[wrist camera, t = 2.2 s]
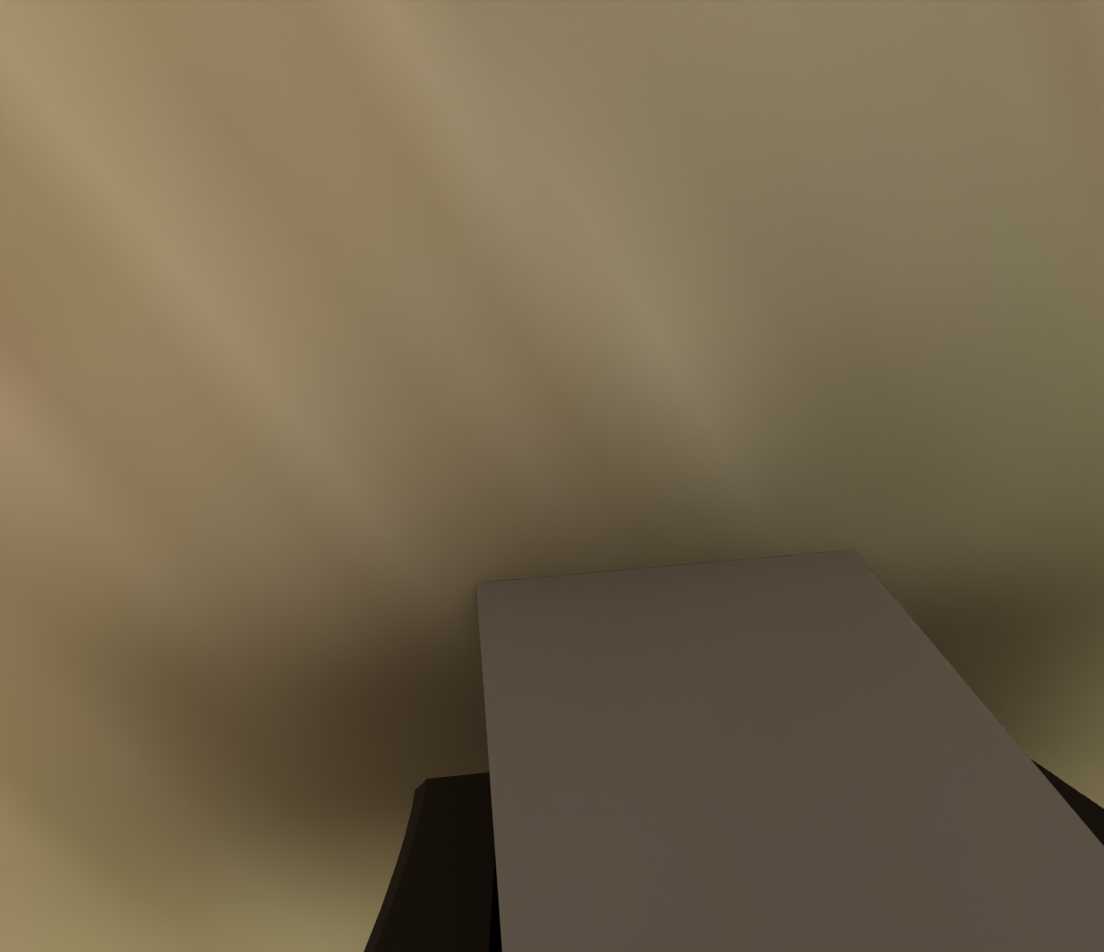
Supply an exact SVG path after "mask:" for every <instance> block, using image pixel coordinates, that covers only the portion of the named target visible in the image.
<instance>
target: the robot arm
mask: <svg viewBox="0 0 1104 952" xmlns="http://www.w3.org/2000/svg"><path fill="white" fill-rule="evenodd" d="M1031 760H1032V759H1031ZM1032 762H1033V763H1034V764H1035V765H1036V766H1037V767H1038V769H1039V770H1040V771H1041V772H1042V773H1043V775H1044V776H1045V777H1046V778H1047V779H1048V781H1049V782H1050V783H1051V784H1052V785H1053V786H1054V788H1055V789H1056V790H1057V791H1058V792H1059V794H1060V795H1061V796H1062V797H1063V798H1064V800H1065V801H1066V802H1067V803H1068V804H1069V805H1070V807H1071V808H1072V809H1073V810H1074V811H1075V813H1076V814H1077V815H1078V816H1079V817H1080V819H1081V820H1082V821H1083V822H1084V823H1085V824H1086V826H1087V827H1088V828H1089V829H1090V830H1091V832H1092V833H1093V834H1094V835H1095V836H1096V838H1097V839H1098V840H1099V841H1100V842H1101V843H1102V845H1103V846H1104V809H1103V808H1102V807H1100V806H1099V805H1097V804H1096V803H1094V802H1093V801H1091V800H1090V799H1088V798H1087V797H1086V796H1084V795H1083V794H1081V793H1080V792H1078V791H1077V790H1075V789H1074V788H1072V787H1071V786H1069V785H1068V784H1067V783H1065V782H1064V781H1062V780H1061V779H1059V778H1058V777H1056V776H1055V775H1054V774H1052V773H1051V772H1049V771H1048V770H1046V769H1045V768H1043V767H1042V766H1040V765H1039V764H1037V763H1036V762H1035V761H1033V760H1032ZM364 952H502V940H501V926H500V912H499V898H498V884H497V870H496V856H495V842H494V828H493V814H492V800H491V786H490V772H488V773H478V774H469V775H459V776H450V777H440V778H431V779H426V780H425V781H424V782H423V783H422V784H421V785H420V786H419V787H418V788H417V789H416V790H415V795H414V800H413V806H412V810H411V815H410V819H409V822H408V826H407V830H406V834H405V837H404V841H403V844H402V848H401V851H400V854H399V857H398V860H397V864H396V867H395V870H394V873H393V875H392V878H391V881H390V884H389V887H388V890H387V893H386V896H385V899H384V901H383V904H382V907H381V910H380V912H379V915H378V917H377V920H376V922H375V925H374V928H373V930H372V933H371V935H370V938H369V940H368V943H367V945H366V948H365V950H364Z"/></svg>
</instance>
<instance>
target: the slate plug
mask: <svg viewBox="0 0 1104 952" xmlns="http://www.w3.org/2000/svg"><path fill="white" fill-rule="evenodd" d="M476 589H477V603H478V617H479V631H480V645H481V659H482V673H483V687H484V701H485V715H486V729H487V744H488V758H489V772H490V786H491V800H492V814H493V828H494V842H495V856H496V870H497V884H498V898H499V912H500V926H501V940H502V952H1104V846H1103V845H1102V843H1101V842H1100V841H1099V840H1098V839H1097V838H1096V836H1095V835H1094V834H1093V833H1092V832H1091V830H1090V829H1089V828H1088V827H1087V826H1086V824H1085V823H1084V822H1083V821H1082V820H1081V819H1080V817H1079V816H1078V815H1077V814H1076V813H1075V811H1074V810H1073V809H1072V808H1071V807H1070V805H1069V804H1068V803H1067V802H1066V801H1065V800H1064V798H1063V797H1062V796H1061V795H1060V794H1059V792H1058V791H1057V790H1056V789H1055V788H1054V786H1053V785H1052V784H1051V783H1050V782H1049V781H1048V779H1047V778H1046V777H1045V776H1044V775H1043V773H1042V772H1041V771H1040V770H1039V769H1038V767H1037V766H1036V765H1035V764H1034V763H1033V762H1032V760H1031V759H1030V758H1029V757H1028V756H1027V754H1026V753H1025V752H1024V751H1023V750H1022V748H1021V747H1020V746H1019V745H1018V744H1017V743H1016V741H1015V740H1014V739H1013V738H1012V737H1011V735H1010V734H1009V733H1008V732H1007V731H1006V729H1005V728H1004V727H1003V726H1002V725H1001V724H1000V722H999V721H998V720H997V719H996V718H995V716H994V715H993V714H992V713H991V712H990V710H989V709H988V708H987V707H986V706H985V704H984V703H983V702H982V701H981V700H980V699H979V697H978V696H977V695H976V694H975V693H974V691H973V690H972V689H971V688H970V687H969V685H968V684H967V683H966V682H965V681H964V680H963V678H962V677H961V676H960V675H959V674H958V672H957V671H956V670H955V669H954V668H953V666H952V665H951V664H950V663H949V662H948V661H947V659H946V658H945V657H944V656H943V655H942V653H941V652H940V651H939V650H938V649H937V647H936V646H935V645H934V644H933V643H932V642H931V640H930V639H929V638H928V637H927V636H926V634H925V633H924V632H923V631H922V630H921V628H920V627H919V626H918V625H917V624H916V623H915V621H914V620H913V619H912V618H911V617H910V615H909V614H908V613H907V612H906V611H905V609H904V608H903V607H902V606H901V605H900V604H899V602H898V601H897V600H896V599H895V598H894V596H893V595H892V594H891V593H890V592H889V590H888V589H887V588H886V587H885V586H884V585H883V583H882V582H881V581H880V580H879V579H878V577H877V576H876V575H875V574H874V573H873V571H872V570H871V569H870V568H869V567H868V566H867V564H866V563H865V562H864V561H863V560H862V558H861V557H860V556H859V555H858V554H857V552H856V551H855V550H844V551H833V552H821V553H810V554H799V555H787V556H776V557H765V558H753V559H742V560H731V561H719V562H708V563H696V564H685V565H674V566H662V567H651V568H640V569H628V570H617V571H606V572H594V573H583V574H572V575H560V576H549V577H538V578H526V579H515V580H503V581H492V582H481V583H476Z"/></svg>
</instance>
